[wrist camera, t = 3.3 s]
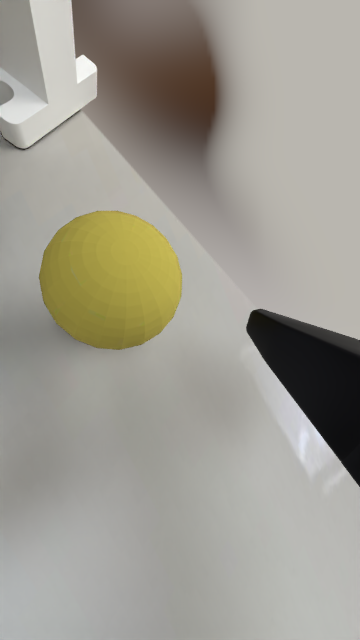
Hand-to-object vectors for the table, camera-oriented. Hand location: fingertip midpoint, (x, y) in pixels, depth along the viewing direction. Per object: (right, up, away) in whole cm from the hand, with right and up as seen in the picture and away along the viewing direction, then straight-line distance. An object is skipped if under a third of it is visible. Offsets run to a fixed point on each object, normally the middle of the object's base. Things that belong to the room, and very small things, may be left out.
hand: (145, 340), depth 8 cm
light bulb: (-4, +1, +10) cm, 11 cm away
